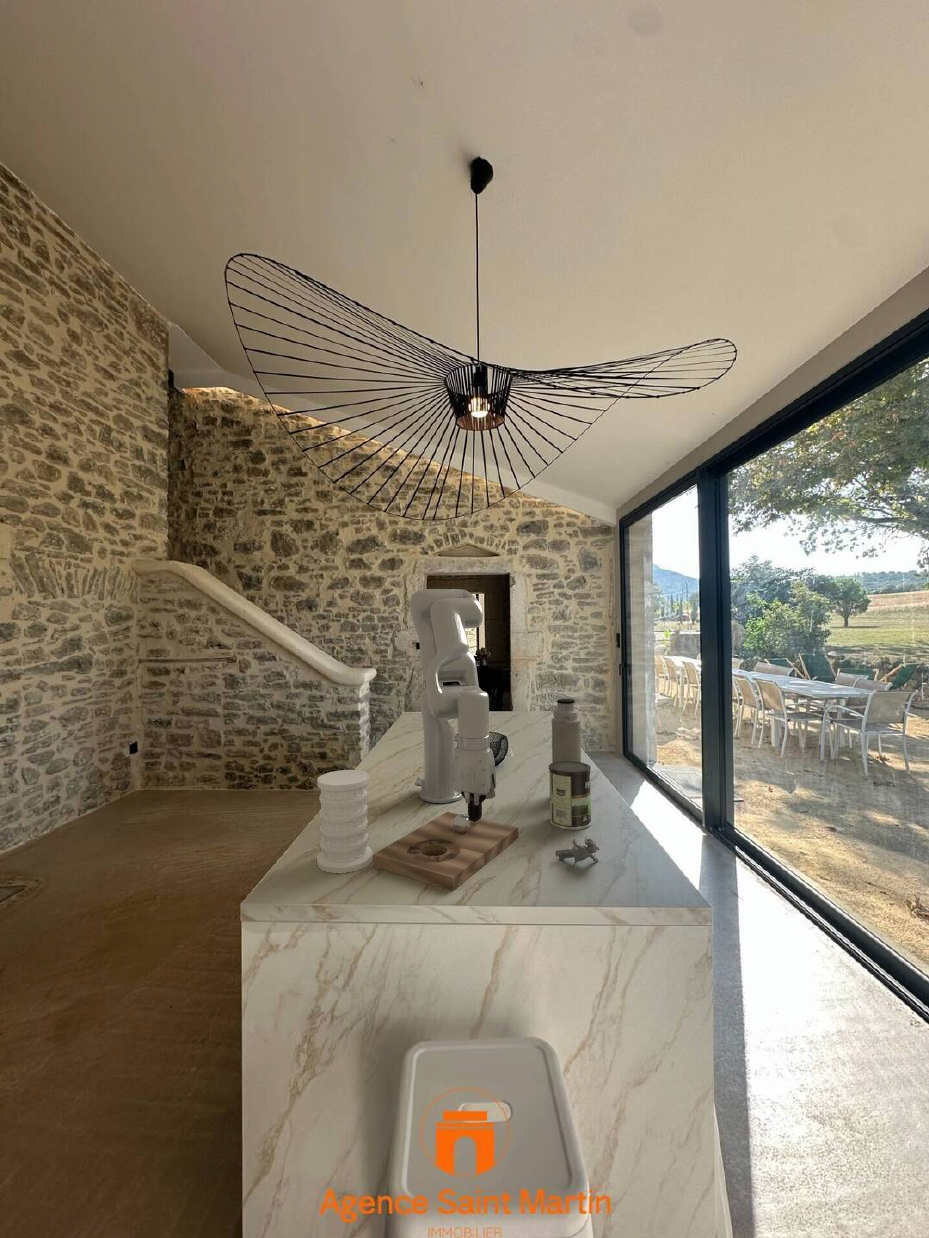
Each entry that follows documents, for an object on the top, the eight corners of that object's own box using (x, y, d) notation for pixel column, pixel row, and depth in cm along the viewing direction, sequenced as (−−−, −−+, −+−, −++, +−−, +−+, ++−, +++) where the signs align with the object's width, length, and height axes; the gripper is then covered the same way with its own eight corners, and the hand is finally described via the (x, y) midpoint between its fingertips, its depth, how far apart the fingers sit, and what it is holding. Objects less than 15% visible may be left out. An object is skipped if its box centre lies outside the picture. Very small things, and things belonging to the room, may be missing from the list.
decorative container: (326, 848, 122) (324, 769, 122) (377, 848, 122) (375, 769, 122) (309, 873, 111) (308, 785, 110) (366, 873, 110) (364, 785, 110)
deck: (447, 821, 137) (447, 811, 137) (518, 837, 127) (518, 827, 126) (373, 866, 113) (372, 854, 113) (453, 890, 103) (452, 877, 103)
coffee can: (590, 815, 140) (590, 761, 139) (592, 831, 129) (591, 772, 129) (550, 813, 142) (549, 759, 142) (548, 828, 132) (547, 770, 131)
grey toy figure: (570, 850, 120) (607, 845, 115) (570, 878, 116) (608, 874, 111) (545, 831, 115) (583, 825, 110) (543, 860, 111) (582, 854, 106)
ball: (449, 833, 123) (449, 815, 123) (458, 827, 127) (458, 810, 127) (464, 836, 121) (464, 819, 121) (473, 830, 125) (473, 813, 125)
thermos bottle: (555, 792, 158) (554, 696, 158) (583, 794, 155) (581, 697, 155) (550, 801, 150) (549, 700, 150) (579, 804, 148) (578, 702, 147)
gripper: (438, 742, 130) (440, 819, 130) (493, 749, 122) (495, 831, 122) (455, 736, 136) (457, 809, 136) (508, 742, 128) (510, 820, 128)
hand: (475, 819), depth 129 cm, fingers closed
